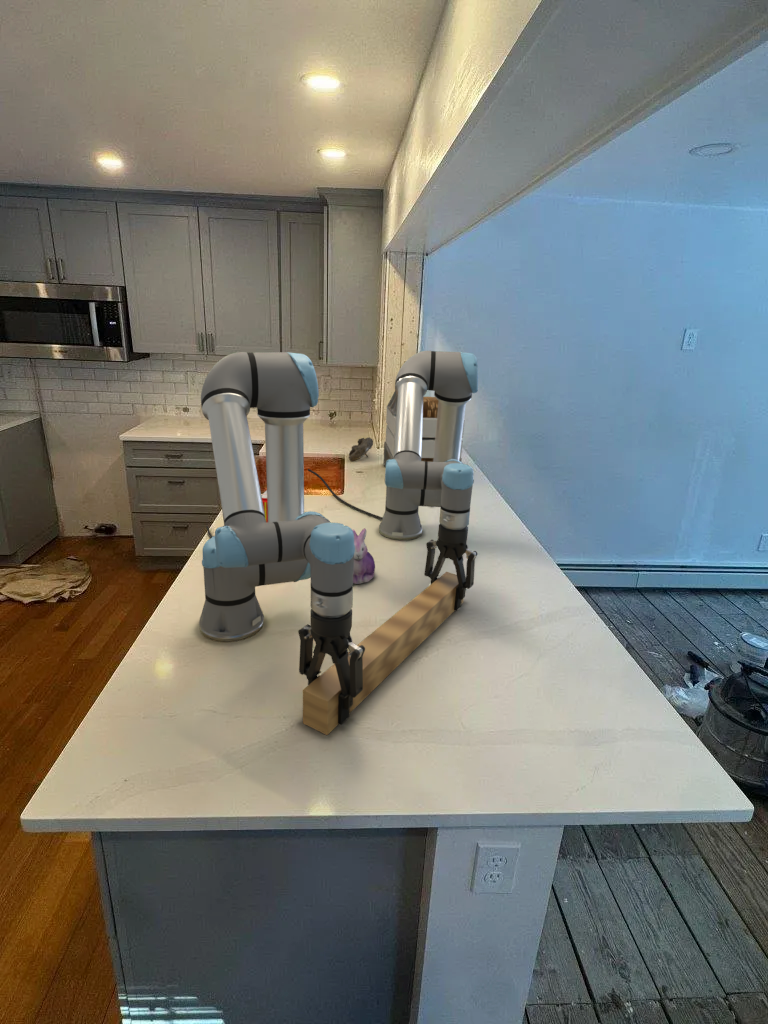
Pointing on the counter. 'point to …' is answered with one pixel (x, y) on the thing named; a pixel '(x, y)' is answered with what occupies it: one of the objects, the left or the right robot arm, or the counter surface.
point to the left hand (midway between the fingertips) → (329, 713)
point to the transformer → (427, 429)
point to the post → (382, 651)
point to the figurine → (362, 560)
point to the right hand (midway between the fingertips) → (446, 604)
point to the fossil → (360, 449)
